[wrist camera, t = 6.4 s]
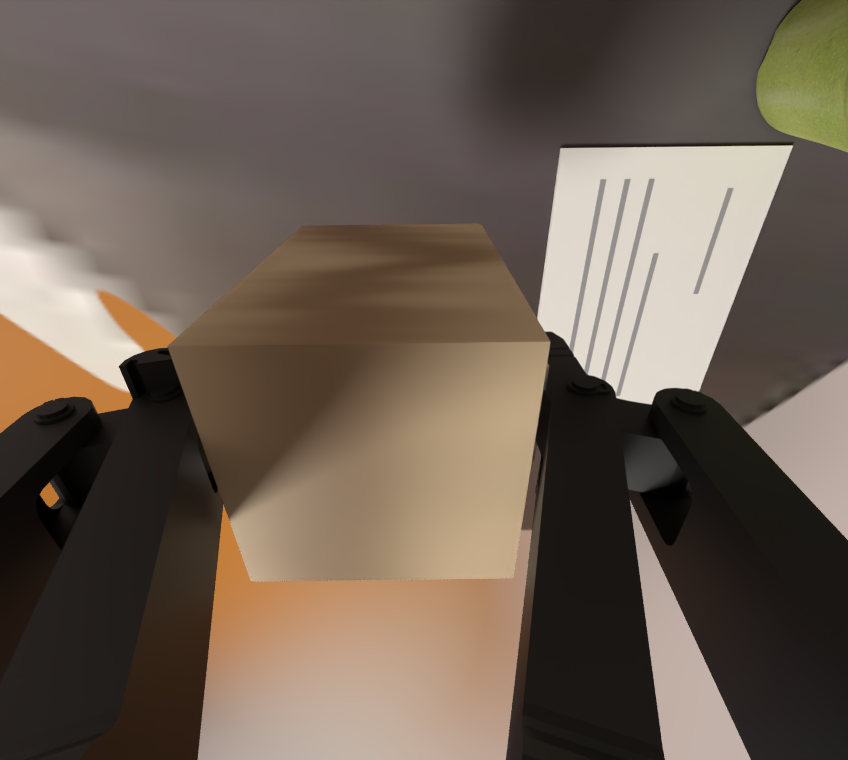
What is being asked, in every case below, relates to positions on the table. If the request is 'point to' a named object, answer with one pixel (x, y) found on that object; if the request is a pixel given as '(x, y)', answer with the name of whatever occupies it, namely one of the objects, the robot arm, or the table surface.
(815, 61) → the plant pot
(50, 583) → the robot arm
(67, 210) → the table surface
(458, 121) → the table surface
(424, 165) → the table surface
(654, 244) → the letter
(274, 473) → the oak block
